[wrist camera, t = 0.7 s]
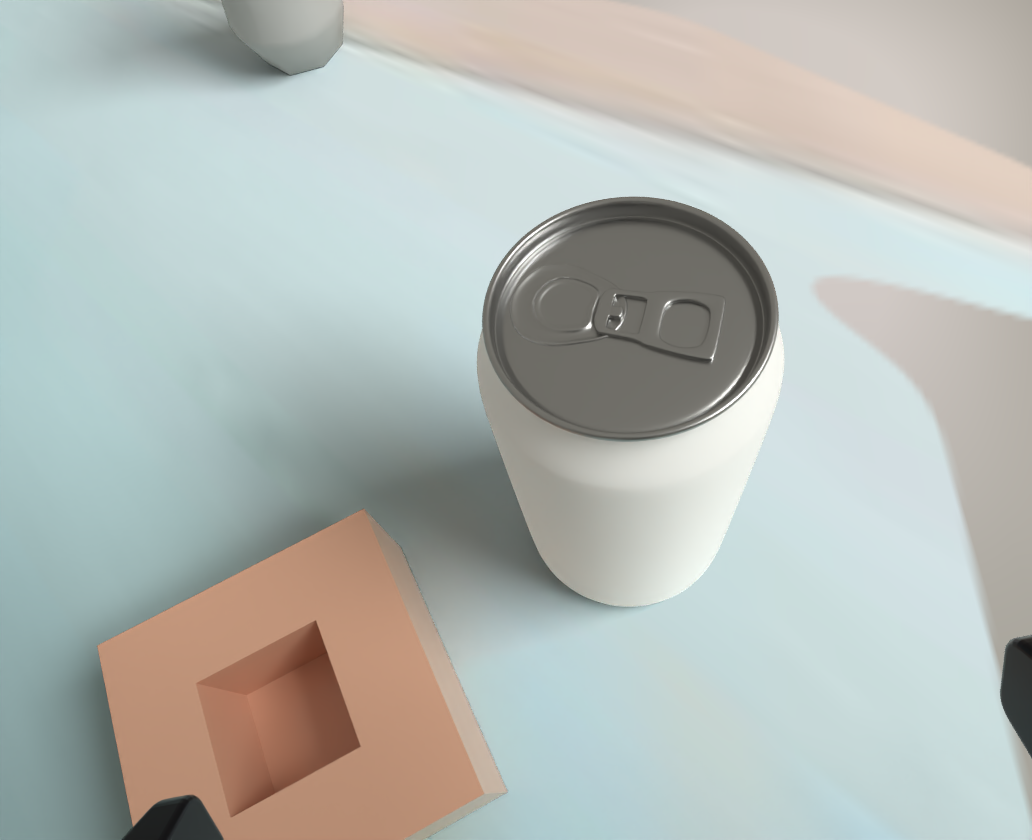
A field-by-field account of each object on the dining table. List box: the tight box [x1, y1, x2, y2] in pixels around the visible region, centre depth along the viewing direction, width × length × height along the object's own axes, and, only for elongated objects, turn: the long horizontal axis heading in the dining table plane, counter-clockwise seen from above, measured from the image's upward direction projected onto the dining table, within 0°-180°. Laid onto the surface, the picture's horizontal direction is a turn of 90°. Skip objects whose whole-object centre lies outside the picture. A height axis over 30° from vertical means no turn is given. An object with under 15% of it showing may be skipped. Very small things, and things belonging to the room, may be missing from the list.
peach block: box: [97, 509, 507, 840], centre depth 21 cm, size 8×8×4 cm
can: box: [477, 197, 784, 607], centre depth 19 cm, size 6×6×12 cm
